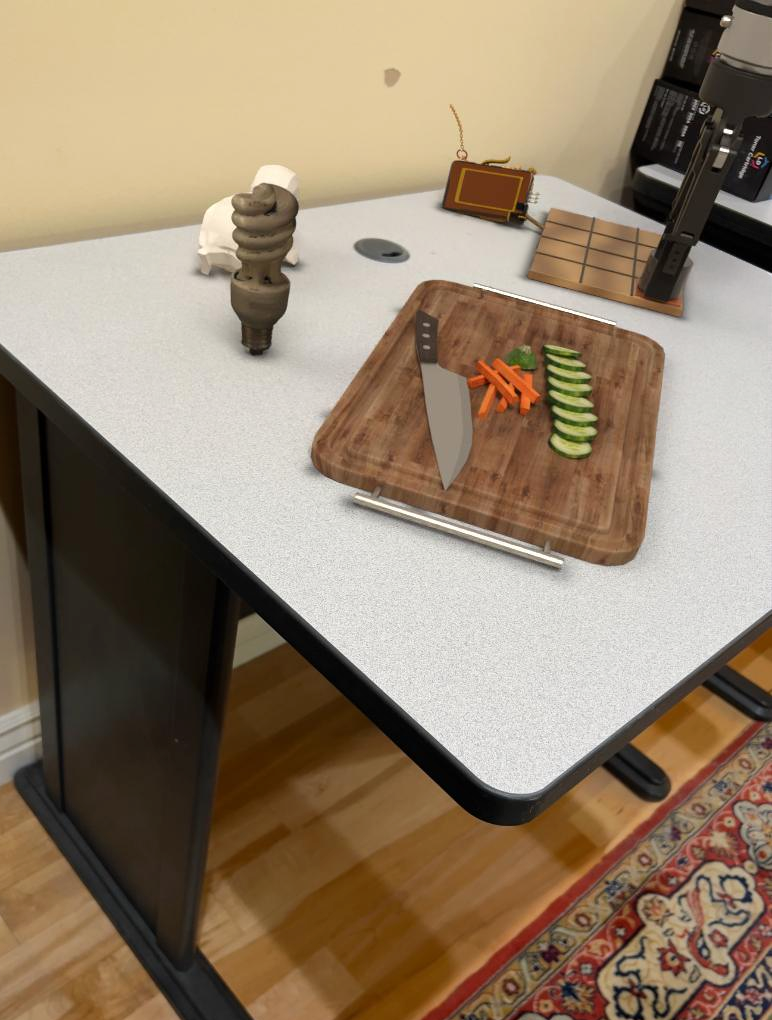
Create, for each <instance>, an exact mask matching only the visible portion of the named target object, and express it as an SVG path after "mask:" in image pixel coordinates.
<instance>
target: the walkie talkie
mask: <svg viewBox="0 0 772 1020" xmlns="http://www.w3.org/2000/svg"><path fill="white" fill-rule="evenodd" d="M449 108H450V109H451V112H452V113H453V115H454V116H455V117H454V119H456V123H457V126H458V127H459V128H458V129H459V130H458V131H459V138H460V139H459V142H460V149H458V150H457V151H456V157H457V159H456V160H453V161H452V162H451V164H450V167H449V172H448V175H447V180H446V184H445V189H444V193H443V197H442V201H441V207H442V208H443V209H445V210H449V211H452V212H455V213H458V214H461V215H466V216H472V217H477V218H479V219H480V220H485V221H492V222H496V223H497V222H498V223H505V222H507V223H508V224H513V225H518V226H524V225H525V223H526V222H527V221H529V222H530V223H531V224H533V225H534V226H536V227H538V228H539V229H540V230H542V231H543V229H547V228H545V225H543V224H542V223H540V222H539V221H538V220H536V219H535V218H534V217H532V216H530V215H529V214H528V212H529V208H530V205H529V204H538V203H540V202H539V201H537V200H538V199H541V198H539V196H540V195H541V196H542V194H540V192H536V191H533V189H534V181H535V175H537V174H538V171H537V170H536V169H535V168H534V167H529V168H528V169H527V170H525V169H523V166H521V165H519V164H518V165H517V164H516V165H514V166H513V168H512V166H510V165H505V166H504V167H503V166H499V165H504V164H507V163H509V162H510V160H511V155H509V156H508V157H507V158H505V159H495V158H494V159H491V158H490V159H485V160H483V161H482V162H481V163H477V162H475V161H469V160H468V154H469V153H468V152H467V150H465V146H464V145H463V144H464V140H463V138H464V137H463V136H464V135H463V131H464V130H463V128H462V127H463V125H462V123H461V120H460V119H459V116H458V112H456V109H455V107H454V106H453V103H450V104H449ZM459 152H461V153H462V152H464V153H465V154H463V155H461V156H459ZM490 164H491V165H490ZM493 164H498V165H493Z"/></svg>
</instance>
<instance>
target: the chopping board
mask: <svg viewBox="0 0 772 1020" xmlns="http://www.w3.org/2000/svg"><path fill="white" fill-rule="evenodd" d="M665 359H666V353H665V350H664V347H662V346H661V344H659V342H657V341H656V340H654V339H652V338H650V337H649V336H648V335H644V334H641V333H638V332H636V331H632V330H628V329H625V328H622V327H617V321H615V320H611V319H608V318H605V317H602V316H601V317H600V316H597V315H593V314H589V313H587V312H583V311H579V310H575V309H572V308H568V307H564V306H560V305H558V304H553V303H550V302H546V301H542V300H539V299H535V298H532V297H528V296H525V295H521V294H517V293H513V292H511V291H506V290H503V289H500V288H495V287H492V286H488V285H485V284H481V283H477V282H474V283H473V285H472V286H470V285H467V284H463V283H460V282H456V281H452V280H451V281H450V280H446V279H428V280H423V281H421V282H420V283H419V284H418V285H417V286H416V287H415V289H414V290H413V292H412V293H411V294H410V295H409V297H408V299H407V300H406V302H405V303H404V305H403V306H402V307H401V309H400V310H399V312H398V314H397V315H396V316H395V318H394V319H393V320H392V322H391V323H390V325H389V326H388V328H387V329H386V331H385V332H384V334H383V335H382V336H381V338H380V340H379V341H378V343H377V344H376V345H375V347H374V348H373V350H372V351H371V353H370V354H369V355H368V357H367V359H366V360H365V361H364V363H363V364H362V366H361V367H360V369H359V370H358V372H357V373H356V375H355V376H354V377H353V379H352V380H351V382H350V383H349V384H348V386H347V388H346V389H345V391H344V392H343V393H342V395H341V396H340V398H339V399H338V401H337V402H336V403H335V405H334V406H333V408H332V410H331V411H330V412H329V414H328V415H327V416H326V418H325V420H324V421H323V423H321V425H320V427H319V429H318V430H317V431H316V433H315V434H314V438H313V440H312V445H311V451H310V459H311V461H312V464H313V466H314V468H315V469H316V470H317V471H319V473H321V474H322V475H323V476H325V477H326V478H329V479H330V480H333V481H336V482H337V483H341V484H344V485H346V486H350V487H352V488H356V489H359V490H362V491H365V492H369V493H371V495H367V494H364V493H360V492H356V493H354V497H353V503H355V504H357V505H361V506H364V507H367V508H370V509H373V510H376V511H380V512H382V513H386V514H389V515H392V516H395V517H398V518H401V519H404V520H407V521H411V522H413V523H417V524H420V525H423V526H426V527H430V528H433V529H436V530H438V531H442V532H445V533H447V534H450V535H451V534H452V535H454V536H458V537H461V538H462V539H463V538H464V539H467V540H469V541H473V542H476V543H479V544H483V545H485V546H489V547H491V548H494V549H498V550H501V551H504V552H507V553H510V554H514V555H517V556H519V557H522V558H525V559H529V560H532V561H535V562H538V563H541V564H544V565H546V566H547V565H548V566H551V567H554V568H557V569H561V568H562V567H563V565H564V563H565V558H564V557H562V556H558V555H555V554H552V553H551V551H553V552H556V553H560V554H563V555H566V556H570V557H573V558H576V559H578V560H581V561H584V562H588V563H592V564H596V565H602V566H607V567H609V566H622V565H623V566H624V565H625V564H627V563H629V562H631V561H634V559H635V558H636V555H638V552H639V550H640V548H641V546H642V544H643V542H644V540H645V536H646V528H647V518H648V511H649V502H650V494H651V493H650V492H651V484H652V476H653V466H654V458H655V457H654V456H655V449H656V440H657V431H658V430H657V429H658V421H659V412H660V405H661V404H660V403H661V396H662V395H661V393H662V385H663V377H664V370H665V369H664V368H665ZM380 496H381V497H383V498H388V499H391V500H395V501H397V502H400V503H403V504H406V505H409V506H412V507H416V508H419V509H422V510H425V511H428V512H431V513H434V514H438V515H441V516H444V517H447V518H450V519H453V520H456V521H460V522H463V523H466V524H469V525H472V526H475V527H478V528H481V529H485V530H487V531H491V532H494V533H497V534H500V535H503V536H507V537H510V538H513V539H516V540H519V541H523V542H525V543H528V544H532V545H535V546H538V547H541V548H542V550H540V549H537V548H533V547H531V546H527V545H524V544H520V543H518V542H515V541H511V540H508V539H505V538H503V537H499V536H496V535H492V534H489V533H486V532H484V531H480V530H476V529H473V528H471V527H467V526H464V525H461V524H458V523H455V522H452V521H450V520H449V521H448V520H445V519H443V518H439V517H436V516H433V515H430V514H427V513H423V512H421V511H417V510H415V509H411V508H408V507H406V506H403V505H398V504H395V503H393V502H389V501H386V500H384V499H380V498H379V497H380Z"/></svg>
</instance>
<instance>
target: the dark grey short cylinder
mask: <svg viewBox="0 0 772 1020" xmlns="http://www.w3.org/2000/svg"><path fill="white" fill-rule="evenodd" d="M662 250H663V249H654V250H652V251H651V252H650V254H649V256H648V259H647V262H646V264H645V267H644V269H643V272H642V274H641V277H640V279H639V282H638V284H637V287H638V289H639V290H640V291H641V292H643V293H645V291H646V288H647V286H648V284H649V281H650V279H651V276H652V274H653V272H654V269H655V267H656V264H657V262H658V260H659V257H660V255H661V252H662ZM693 267H694V261H693V259H692V258H690V257H689V256H688V257H687V259H686V261H685V264H684V266H683V268H682V270H681V273H680V275H679V277H678V280H677V282H676V284H675V286H674V289H673V291H672V293H671V296H670V298H669V300H668V301H673V300H677V299H678V298H679V297H680V295H681V293H682V290H683V291H684V288H685V285H686V284H687V281H688V278H689V276H690V274H691V272H692V269H693Z"/></svg>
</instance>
